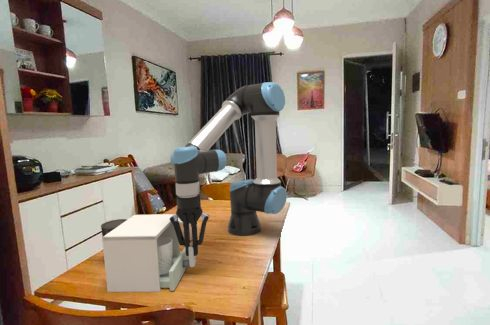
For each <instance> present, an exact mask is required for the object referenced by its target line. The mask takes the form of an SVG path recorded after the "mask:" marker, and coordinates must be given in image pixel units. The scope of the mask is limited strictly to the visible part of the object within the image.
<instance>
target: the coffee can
mask: <svg viewBox="0 0 490 325" xmlns="http://www.w3.org/2000/svg"><path fill="white" fill-rule="evenodd" d="M128 219H129V218H127V219H125V218H119V219H112V220H108V221H106V222H104V223H101V225H100V228H101V236H102V237H104V236H105V235H106V234H108V233H109V232H111V231H112V230H114V229H115V228H116V227H118V226H119V225H121V224H122V223H123V222H125V221H126V220H128ZM102 237H101V238H102Z"/></svg>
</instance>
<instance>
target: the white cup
mask: <svg viewBox="0 0 490 325" xmlns="http://www.w3.org/2000/svg"><path fill="white" fill-rule="evenodd" d="M157 251H158V263H159V275H164V274H167V273H169V270H170V269H171V267H172V266H173V263H172V262H173V246H172V239H171V238H167V237H161V238H157Z"/></svg>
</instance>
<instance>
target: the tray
mask: <svg viewBox="0 0 490 325" xmlns="http://www.w3.org/2000/svg"><path fill="white" fill-rule="evenodd" d="M190 244H192V242H191V243H190ZM172 263H173V266H172V267H171V269H170V270H169V273H167V274H164V275H159V276H160V289H163V288H164V289H165V288H166V289H168V288H169V290H170V291H171V292H173V291H175V290H176V288H177V286H178V285H179V282H180V280H181V279H182V277H183V275H184V273H185V271H186V269H187V268H191V267H190V265H189V256H186V249H185V246H184V247H183V249H182V250H181V251H180V254H173V262H172Z"/></svg>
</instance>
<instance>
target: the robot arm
mask: <svg viewBox="0 0 490 325" xmlns="http://www.w3.org/2000/svg"><path fill="white" fill-rule="evenodd" d="M285 105H286V96H285V93H284V90H283V89H282V87H281V86H280V85H279V84H278V83H277V82H274V81H271V82H270V81H269V82H266V81H265V82H261V83H255V84H247V85H243V86H241V87H239V88H238V89H236V90H235V91H234V92H233V93H231V95H229V96H228V97H227V98H226V99H225V100H224V101H223V102H222V104H221V108H220V109H218V111H217V112H216V113H215V114H214V115H213V116H212V117H211V119H209V120H208V121H207V123H206V124H205V125H204V126H202V128H201V129H200V130H199V131H198V132H197V133H196V134H195V135H194V136H193V137H192V138H191V139H190V140H189V142H188V143H187V144H186V145H185V146H180V147H176V148H174V151H172V153H171V154H170V164H171V166H172V167H173V169H174V177H175V178H174V179H175V181H174V182H175V195H176V212H175V213H174V214H175V215H173V216H171V217H170V221H171V222H172V224H173V226H174V229H175V232H176V235H177V238H178V242H179V246H184V247H185V249H186V256H189V265H190V267H189V268H193V267H195V266H196V263H197V261H196V259H197V258H196V257H197V256H198V254H199V246H202V244H203V243H204V238H205V234H206V227H207V223H208V220H209V219H210V214H206V213H205V212H203V209H202V204H201V195H200V193H201V190H200V189H201V188H200V175H204V174H210V173H214V172H215V173H217V172H219V171H222V170H224V169H226V166H227V162H228V161H227V156H226V154H225V151H223V150H221V149H211V148H212V146H214V144H215V143H216V142H218V140H219V139H220V138H221V136H222V135H223V134H224V133H225V132H226V130H228V129H229V128H230V126H231V125H233V123H234V122H235V121H237V120H239V119H241V117H243V116H244V115H246V114H247V115H248V114H251V116H250V117H251V118H252V119H253V120H254V128H255V129H254V130H255V162H256V164H255V165H256V167H255V168H256V178H255V179H251V178H249V179H240V180H238V181H233V182H231V183H230V185H229V197H230V198H229V199H230V218H229V220H228V225H227V231H228V233H230V235H231V234H232V235H234V236H235V235H236V236H251V235H255V234H258V233H259V232H261V230H262V228H261V221H260V219H259V217H258V214H257V212H260V213H265V214H271V215H276V214H279V213H281V211H282V210H283V209H284V207H285V205H286V202H287V198H288V193H287V190H286V188H284V187H283V186H282V181H281V180H280V179H279V178H278V168H277V167H278V164H277V162H278V161H277V159H278V158H277V155H278V154H277V119H278V118H279V117H280V111H282V110H284V106H285ZM200 218H201V221H202V222H201V226H200V232H199V235H198V221H199V219H200ZM180 221H181V223H182V227H183V231H182V228H181V224H180ZM190 226H191V233H190ZM190 236H191V237H190ZM191 239H192V240H191ZM191 241H192V242H191ZM190 243H191V244H190Z"/></svg>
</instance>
